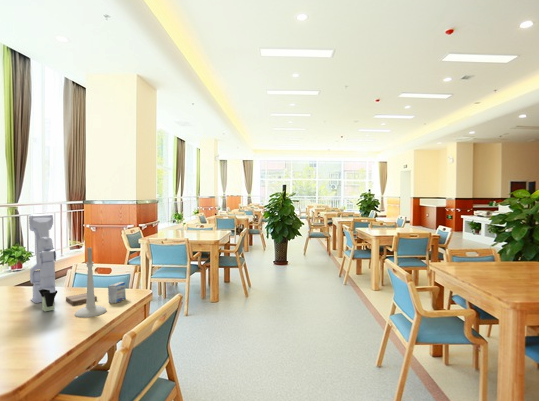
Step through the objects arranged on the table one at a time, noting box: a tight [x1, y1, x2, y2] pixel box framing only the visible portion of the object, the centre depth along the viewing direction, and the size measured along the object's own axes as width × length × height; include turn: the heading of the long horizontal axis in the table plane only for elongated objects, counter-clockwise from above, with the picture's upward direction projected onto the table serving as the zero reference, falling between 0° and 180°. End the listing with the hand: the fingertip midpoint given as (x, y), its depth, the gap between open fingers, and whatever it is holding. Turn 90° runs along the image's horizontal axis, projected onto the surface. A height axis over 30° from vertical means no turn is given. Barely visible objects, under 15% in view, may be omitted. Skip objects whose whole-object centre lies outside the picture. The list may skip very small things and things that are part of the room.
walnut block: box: [65, 292, 98, 306], centre depth 179 cm, size 11×11×2 cm
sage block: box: [41, 297, 56, 312], centre depth 163 cm, size 4×4×6 cm
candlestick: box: [74, 247, 107, 319], centre depth 160 cm, size 13×13×30 cm
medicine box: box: [107, 281, 126, 304], centre depth 178 cm, size 8×4×9 cm, turn 168°
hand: (48, 305), depth 163 cm, fingers closed on sage block, 4 cm apart
